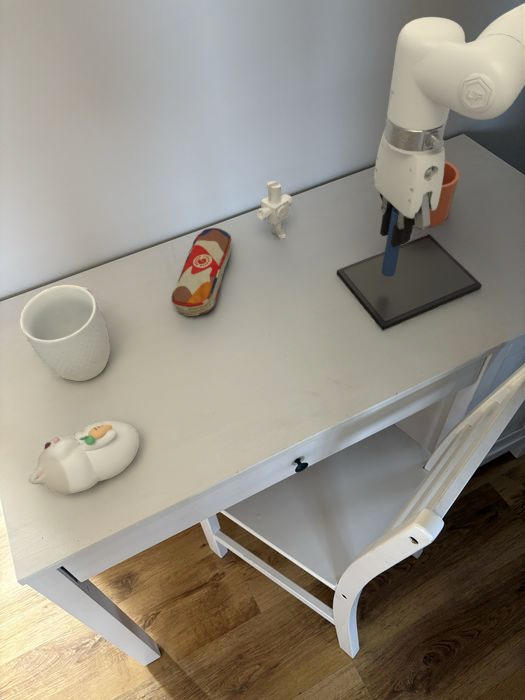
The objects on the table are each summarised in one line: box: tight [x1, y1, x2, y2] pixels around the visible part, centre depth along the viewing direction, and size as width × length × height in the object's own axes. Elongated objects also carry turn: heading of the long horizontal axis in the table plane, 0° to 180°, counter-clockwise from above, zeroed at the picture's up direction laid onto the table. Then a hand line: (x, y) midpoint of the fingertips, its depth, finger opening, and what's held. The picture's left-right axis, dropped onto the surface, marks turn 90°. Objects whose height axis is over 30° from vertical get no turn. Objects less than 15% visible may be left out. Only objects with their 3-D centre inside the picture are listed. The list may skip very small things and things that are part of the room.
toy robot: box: [256, 180, 293, 239], centre depth 99 cm, size 4×8×12 cm, turn 133°
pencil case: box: [170, 227, 232, 317], centre depth 96 cm, size 11×20×5 cm, turn 155°
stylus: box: [382, 207, 400, 276], centre depth 85 cm, size 2×2×13 cm
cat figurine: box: [28, 420, 140, 495], centre depth 73 cm, size 10×8×15 cm
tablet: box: [336, 233, 483, 331], centre depth 94 cm, size 20×15×1 cm
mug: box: [19, 284, 111, 382], centre depth 83 cm, size 15×11×13 cm
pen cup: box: [406, 160, 460, 228], centre depth 102 cm, size 9×9×9 cm
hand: (394, 237), depth 84 cm, fingers closed on stylus, 2 cm apart
